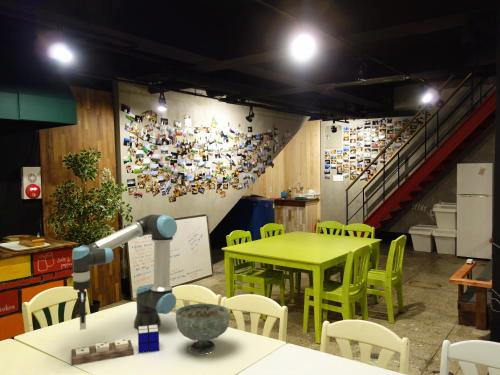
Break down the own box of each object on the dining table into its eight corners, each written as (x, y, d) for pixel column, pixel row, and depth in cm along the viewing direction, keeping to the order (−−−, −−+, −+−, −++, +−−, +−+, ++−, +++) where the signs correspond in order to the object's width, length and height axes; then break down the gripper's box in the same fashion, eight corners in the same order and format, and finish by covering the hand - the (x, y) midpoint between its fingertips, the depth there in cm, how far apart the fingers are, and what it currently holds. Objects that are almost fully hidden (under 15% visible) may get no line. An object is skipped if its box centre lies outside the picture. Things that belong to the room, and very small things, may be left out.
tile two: (127, 344, 216) (126, 338, 216) (128, 348, 210) (128, 342, 210) (114, 346, 213) (114, 340, 213) (115, 350, 208) (115, 344, 208)
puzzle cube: (138, 353, 210) (138, 333, 209) (138, 345, 219) (137, 326, 219) (159, 351, 212) (158, 331, 212) (158, 343, 222) (157, 324, 222)
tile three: (108, 347, 212) (108, 341, 212) (109, 351, 207) (109, 345, 207) (95, 349, 210) (95, 343, 210) (96, 354, 204) (96, 347, 204)
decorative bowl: (165, 355, 206) (166, 314, 206) (188, 336, 231) (189, 299, 230) (216, 364, 198) (218, 321, 198) (234, 343, 223) (236, 305, 222)
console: (130, 345, 219) (130, 339, 219) (133, 354, 208) (133, 348, 208) (71, 355, 208) (71, 349, 208) (71, 365, 197) (71, 359, 197)
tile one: (89, 352, 209) (88, 346, 209) (89, 357, 203) (89, 351, 203) (75, 354, 206) (75, 348, 206) (75, 359, 201) (75, 353, 201)
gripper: (72, 277, 208) (74, 325, 209) (73, 284, 196) (74, 335, 197) (89, 276, 211) (90, 323, 212) (90, 282, 199) (91, 332, 200)
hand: (83, 328), depth 204 cm, fingers closed
